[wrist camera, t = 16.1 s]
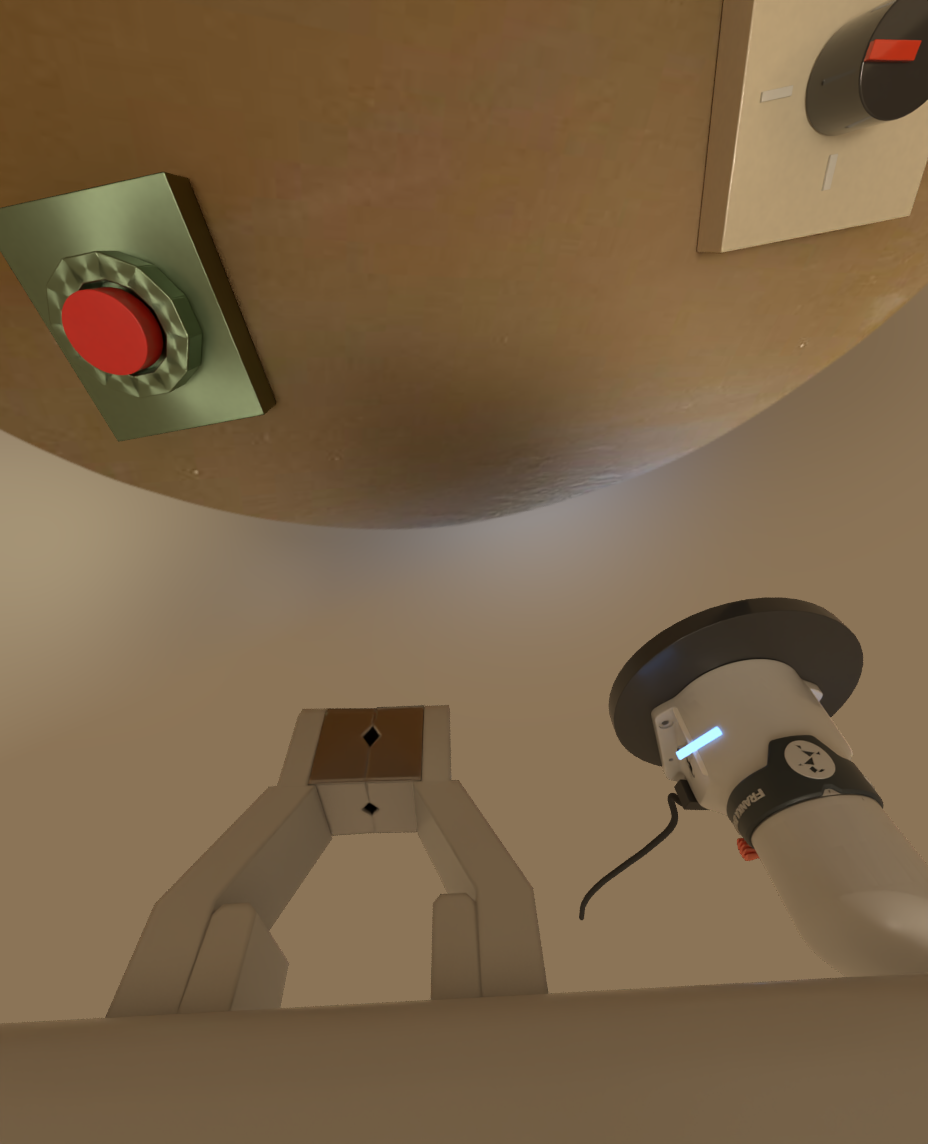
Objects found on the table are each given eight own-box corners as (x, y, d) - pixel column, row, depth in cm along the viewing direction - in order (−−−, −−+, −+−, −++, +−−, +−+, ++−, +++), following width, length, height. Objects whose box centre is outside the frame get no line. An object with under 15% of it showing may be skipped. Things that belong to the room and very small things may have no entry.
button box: (276, 402, 32) (255, 423, 28) (139, 428, 32) (101, 452, 29) (188, 178, 25) (144, 166, 21) (16, 215, 25) (-55, 210, 22)
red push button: (177, 361, 26) (162, 368, 25) (111, 374, 27) (93, 381, 25) (137, 280, 24) (118, 282, 23) (65, 294, 24) (42, 297, 23)
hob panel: (868, 218, 27) (912, 216, 25) (696, 252, 28) (722, 253, 25) (961, -120, 20) (1037, -173, 18) (729, -65, 21) (770, -109, 18)
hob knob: (915, 14, 20) (1000, -27, 17) (869, 137, 23) (937, 119, 20) (828, 12, 20) (898, -30, 17) (791, 135, 23) (846, 118, 20)
